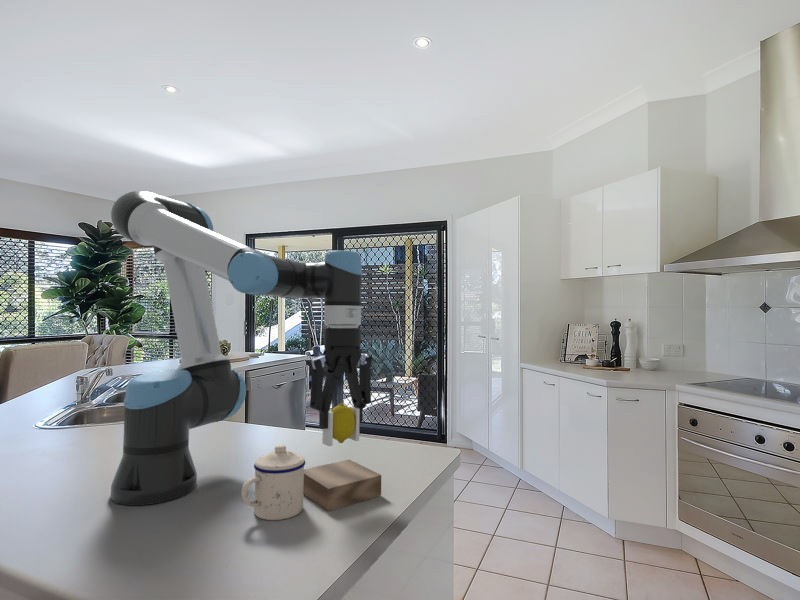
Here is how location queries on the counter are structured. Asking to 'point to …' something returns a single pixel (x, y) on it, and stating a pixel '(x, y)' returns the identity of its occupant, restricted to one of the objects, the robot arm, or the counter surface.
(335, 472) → the walnut plinth
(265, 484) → the teacup with lid
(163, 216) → the robot arm
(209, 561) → the counter surface
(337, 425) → the lemon
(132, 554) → the counter surface
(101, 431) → the counter surface
